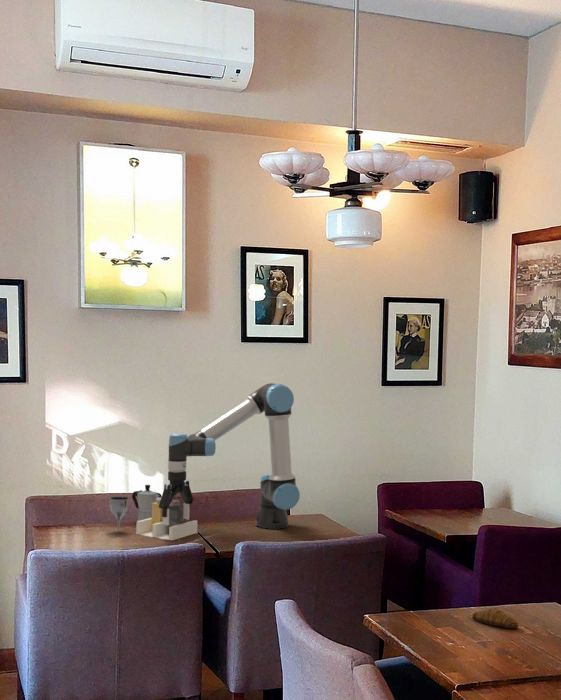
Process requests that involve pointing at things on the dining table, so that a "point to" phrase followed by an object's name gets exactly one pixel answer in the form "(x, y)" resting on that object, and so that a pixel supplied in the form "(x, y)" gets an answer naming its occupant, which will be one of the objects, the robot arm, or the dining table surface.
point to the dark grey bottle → (175, 514)
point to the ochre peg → (156, 513)
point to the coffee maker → (144, 502)
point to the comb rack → (166, 529)
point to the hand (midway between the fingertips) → (176, 522)
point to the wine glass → (119, 507)
